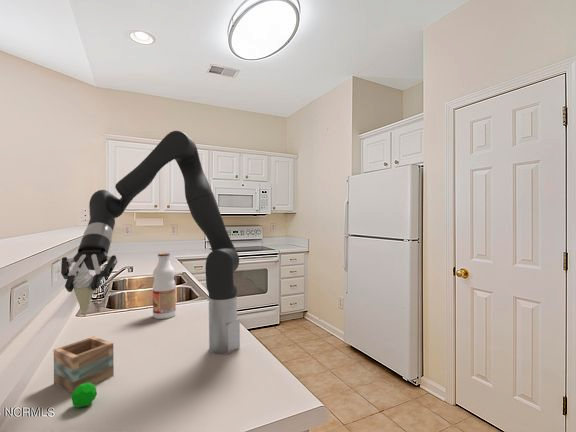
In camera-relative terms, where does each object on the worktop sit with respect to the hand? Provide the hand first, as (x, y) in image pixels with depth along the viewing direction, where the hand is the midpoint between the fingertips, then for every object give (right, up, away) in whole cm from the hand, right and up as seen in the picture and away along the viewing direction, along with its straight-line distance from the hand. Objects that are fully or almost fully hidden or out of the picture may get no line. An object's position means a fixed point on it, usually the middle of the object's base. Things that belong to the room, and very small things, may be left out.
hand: (81, 289), depth 80 cm
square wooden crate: (0, -25, +1) cm, 25 cm away
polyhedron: (+7, -25, -10) cm, 28 cm away
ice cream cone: (0, -8, +2) cm, 8 cm away
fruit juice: (0, -25, +54) cm, 60 cm away
